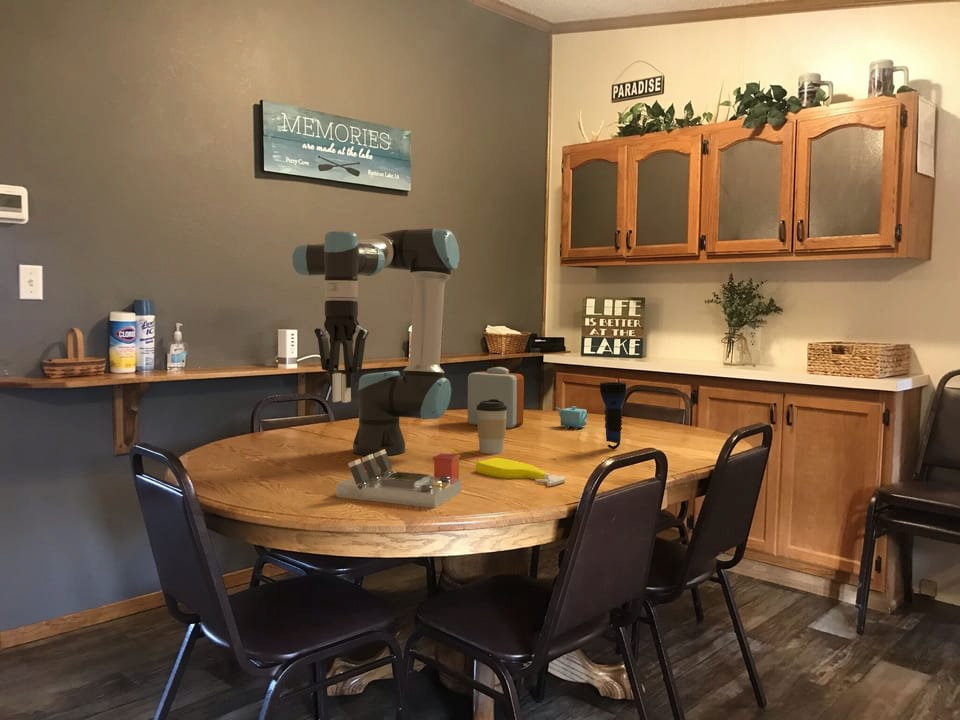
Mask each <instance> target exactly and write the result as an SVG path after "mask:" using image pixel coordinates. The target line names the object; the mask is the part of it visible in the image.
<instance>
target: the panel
mask: <svg viewBox="0 0 960 720" xmlns="http://www.w3.org/2000/svg"><path fill="white" fill-rule="evenodd" d="M379 471H380V473H381V470H379ZM365 473H366V475H367V478H368V480H366V481H363V482H361V483H359V484H356V482H355V480H354V477H353V476H352V477H350V478H347V479H344V480H342V481H340V482H338V483H336V485H335V487H336V498H342V499H350V500H360V501H369V502H377V503H378V502H379V503H385V504H386V503H387V504H396V505H404V506H415V507H421V508H422V507H423V508H424V507H425V508H430V509H431V508H432V509H436V508H437V507H439V506H441V505H442V504H444V503H446V502H447V501H449V500H450V499H453V498H454V497H455V496H457V495H459V494H461V492H462V478H459V479H453V478H450V476H440V477H434V475H433V476H432V475H431V476H430V474H427V473H426V474H424V473H415V472H414V473H413V472H404V471H396V472H394V470H393V469H391V470H389V471H386V472H384V473H381V474H379V475H377V476H375V477H372V478H370V479H369V476H368V474H367V471H366V470H365Z"/></svg>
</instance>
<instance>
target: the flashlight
mask: <svg viewBox="0 0 960 720" xmlns="http://www.w3.org/2000/svg"><path fill="white" fill-rule="evenodd" d="M599 392H600V396H601V399H602V402H603V404H604V405H605V407H604V415H605V416H604V421H605V423H604V428H605V439H606V440H605V441H606V442H607V443H608V442H609V443H614V444H615V445H611V444H609V443H608V444H607V448H608V449H611V450H615V449H617V448H619V447H620V445H621V441H622V440H621V438H622V436H621V435H622V430H623V427H622V426H623V420H622V419H623V409H622V405H623V403H624V401H625V398H626V396H627V382H622V381H609V382H608V381H604V382H599Z"/></svg>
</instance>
